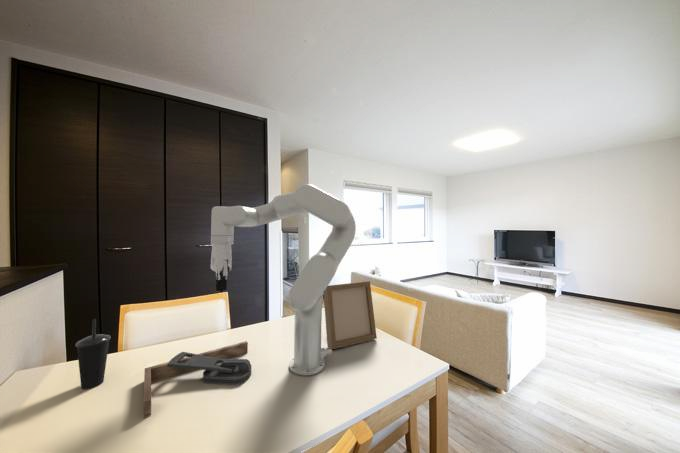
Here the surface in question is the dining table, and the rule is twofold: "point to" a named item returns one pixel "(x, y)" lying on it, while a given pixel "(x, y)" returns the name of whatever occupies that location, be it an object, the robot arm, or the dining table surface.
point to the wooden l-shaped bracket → (184, 369)
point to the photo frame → (349, 314)
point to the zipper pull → (215, 368)
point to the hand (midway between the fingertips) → (221, 290)
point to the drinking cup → (92, 358)
